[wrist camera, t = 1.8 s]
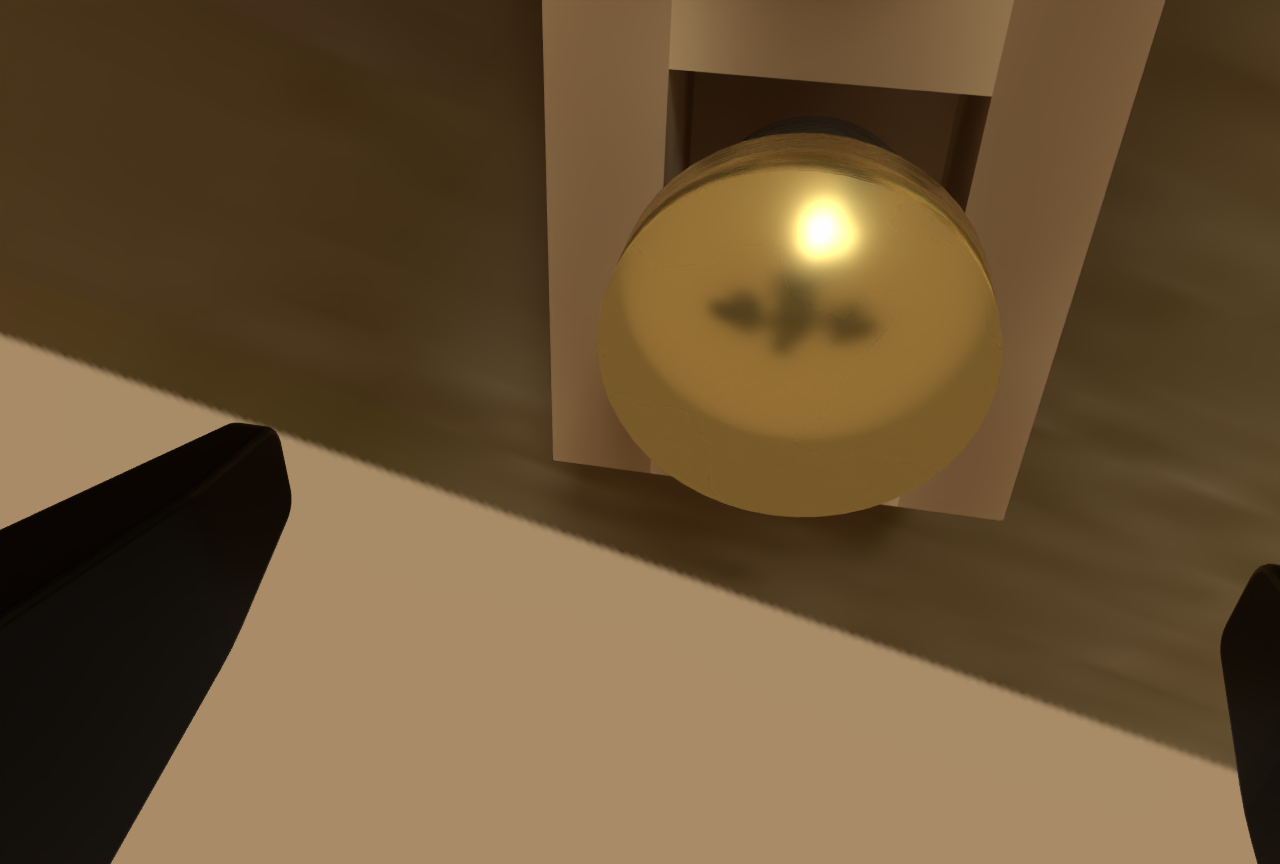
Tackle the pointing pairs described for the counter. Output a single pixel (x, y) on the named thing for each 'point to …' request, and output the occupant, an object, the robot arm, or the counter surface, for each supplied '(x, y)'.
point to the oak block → (868, 97)
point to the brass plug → (801, 324)
